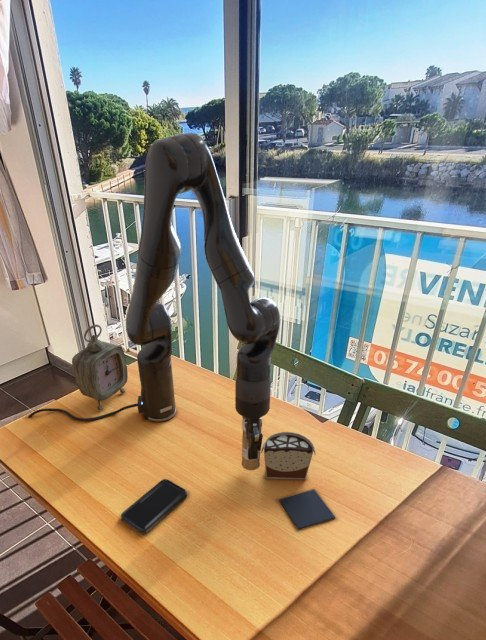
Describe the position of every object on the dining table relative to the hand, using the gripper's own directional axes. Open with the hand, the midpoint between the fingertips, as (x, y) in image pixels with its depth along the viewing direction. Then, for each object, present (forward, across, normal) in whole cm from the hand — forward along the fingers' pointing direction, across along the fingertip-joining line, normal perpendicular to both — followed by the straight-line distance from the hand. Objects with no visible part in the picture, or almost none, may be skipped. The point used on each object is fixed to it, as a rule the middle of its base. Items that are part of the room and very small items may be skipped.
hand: (251, 451), depth 107 cm
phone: (+7, +9, -23) cm, 26 cm away
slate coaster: (+7, +13, +11) cm, 18 cm away
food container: (+7, 0, +8) cm, 11 cm away
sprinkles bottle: (+4, 0, 0) cm, 4 cm away
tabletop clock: (+7, -38, -40) cm, 55 cm away
